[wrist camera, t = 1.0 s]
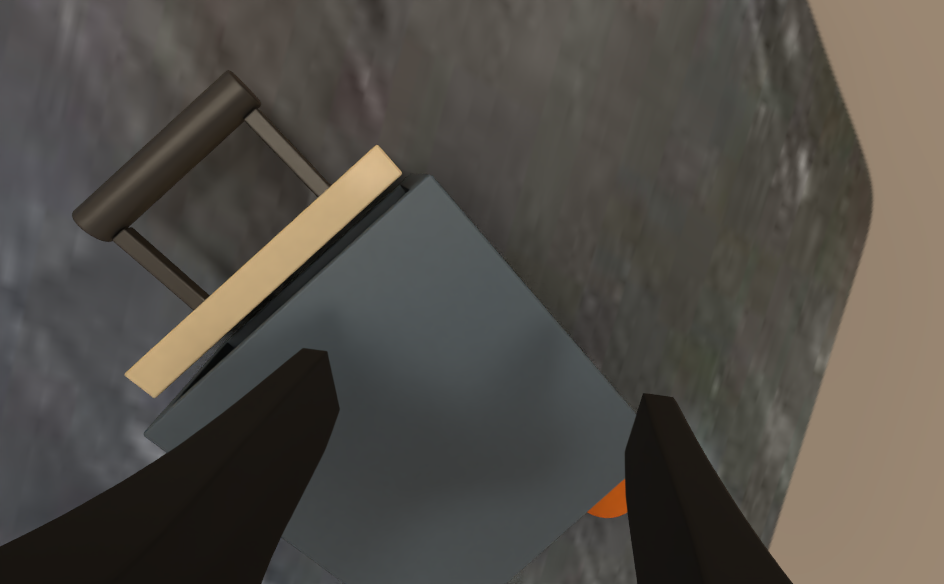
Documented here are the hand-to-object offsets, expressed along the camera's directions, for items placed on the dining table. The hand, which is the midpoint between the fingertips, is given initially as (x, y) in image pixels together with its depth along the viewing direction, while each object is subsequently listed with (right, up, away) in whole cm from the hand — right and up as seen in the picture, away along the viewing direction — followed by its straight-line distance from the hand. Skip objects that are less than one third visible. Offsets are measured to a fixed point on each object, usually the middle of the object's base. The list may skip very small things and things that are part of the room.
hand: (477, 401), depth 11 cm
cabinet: (-3, -1, +14) cm, 14 cm away
